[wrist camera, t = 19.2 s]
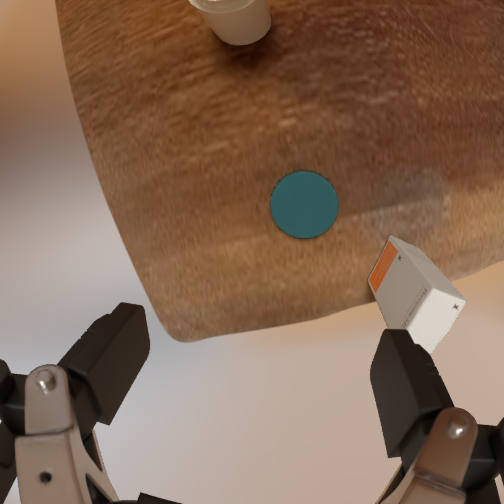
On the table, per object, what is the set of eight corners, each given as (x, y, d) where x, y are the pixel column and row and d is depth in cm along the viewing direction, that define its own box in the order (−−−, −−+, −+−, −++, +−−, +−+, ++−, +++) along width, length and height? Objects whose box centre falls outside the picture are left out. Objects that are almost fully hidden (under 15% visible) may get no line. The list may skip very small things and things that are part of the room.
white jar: (267, -6, 22) (257, -59, 12) (275, 41, 24) (269, -3, 14) (209, 3, 23) (177, -44, 13) (215, 50, 25) (181, 13, 15)
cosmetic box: (388, 233, 30) (434, 285, 19) (418, 246, 30) (469, 300, 19) (364, 281, 32) (394, 348, 21) (394, 292, 32) (430, 358, 21)
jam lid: (268, 229, 31) (267, 235, 30) (273, 166, 29) (272, 168, 27) (331, 236, 31) (334, 242, 29) (339, 173, 28) (343, 175, 27)
